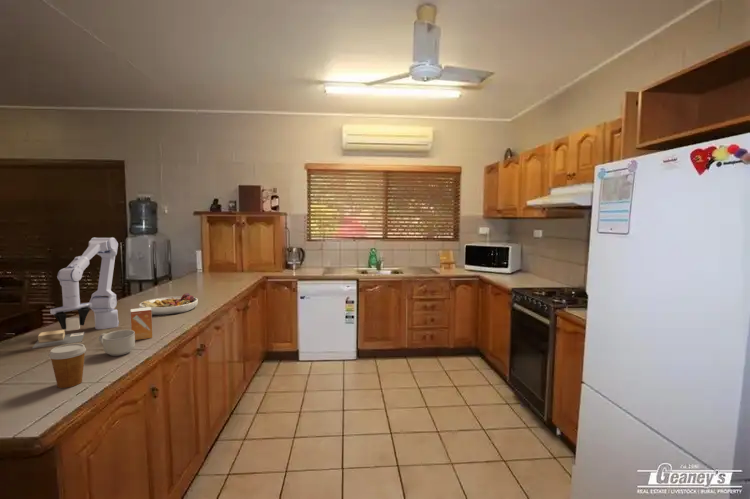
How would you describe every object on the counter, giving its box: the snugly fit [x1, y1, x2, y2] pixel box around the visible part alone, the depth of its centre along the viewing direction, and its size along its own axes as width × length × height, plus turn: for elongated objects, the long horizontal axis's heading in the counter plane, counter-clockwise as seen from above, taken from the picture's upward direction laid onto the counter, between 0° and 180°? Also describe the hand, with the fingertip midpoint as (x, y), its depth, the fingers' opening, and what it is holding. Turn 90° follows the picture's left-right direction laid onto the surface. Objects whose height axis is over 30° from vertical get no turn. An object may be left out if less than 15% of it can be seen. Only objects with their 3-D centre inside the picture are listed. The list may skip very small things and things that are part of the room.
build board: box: [32, 331, 86, 349], centre depth 165 cm, size 16×16×1 cm
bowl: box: [138, 292, 199, 316], centre depth 223 cm, size 30×30×8 cm
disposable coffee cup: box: [48, 343, 87, 389], centre depth 124 cm, size 10×10×12 cm
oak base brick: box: [37, 329, 66, 343], centre depth 165 cm, size 8×6×3 cm
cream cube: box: [65, 316, 81, 332], centre depth 164 cm, size 4×4×4 cm
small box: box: [129, 307, 153, 341], centre depth 171 cm, size 8×6×13 cm
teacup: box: [98, 329, 136, 357], centre depth 152 cm, size 14×11×8 cm
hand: (73, 327), depth 164 cm, fingers closed on cream cube, 6 cm apart
